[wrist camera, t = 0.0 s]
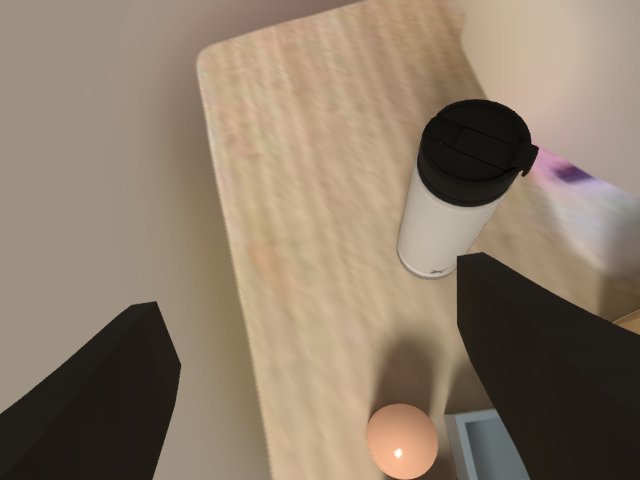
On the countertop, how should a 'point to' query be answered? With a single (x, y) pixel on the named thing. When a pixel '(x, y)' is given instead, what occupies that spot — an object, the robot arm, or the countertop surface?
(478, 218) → the travel mug
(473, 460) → the tote
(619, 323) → the skincare box
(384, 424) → the terracotta capsule
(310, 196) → the countertop surface
